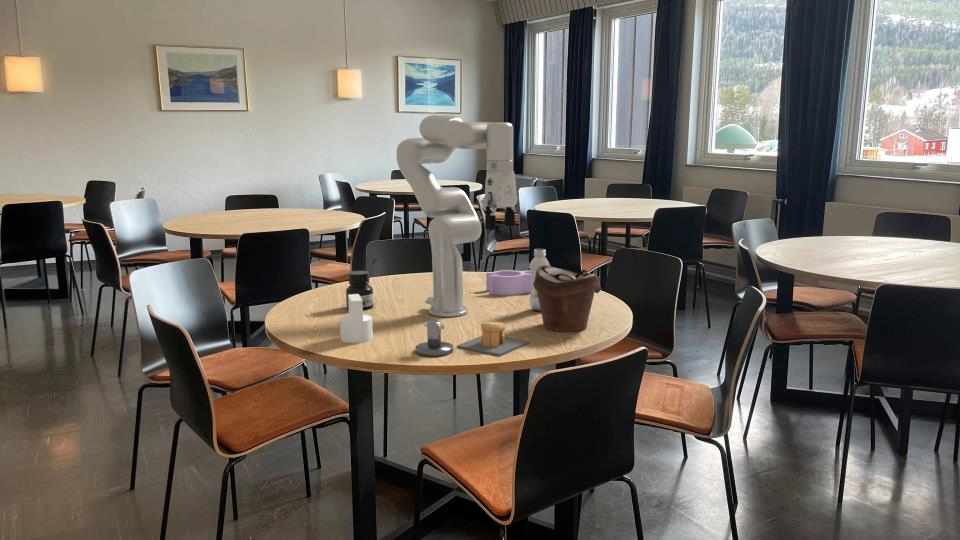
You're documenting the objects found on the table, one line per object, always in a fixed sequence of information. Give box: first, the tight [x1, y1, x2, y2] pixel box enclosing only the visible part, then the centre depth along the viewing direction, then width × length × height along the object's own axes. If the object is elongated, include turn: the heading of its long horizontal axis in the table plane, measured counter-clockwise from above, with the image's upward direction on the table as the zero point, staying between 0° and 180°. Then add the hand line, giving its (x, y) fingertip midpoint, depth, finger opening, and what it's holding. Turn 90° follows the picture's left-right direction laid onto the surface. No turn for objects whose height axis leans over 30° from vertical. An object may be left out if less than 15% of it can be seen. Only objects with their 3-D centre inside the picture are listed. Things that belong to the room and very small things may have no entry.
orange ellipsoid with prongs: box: [480, 321, 506, 347], centre depth 192 cm, size 6×6×6 cm
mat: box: [456, 335, 530, 357], centre depth 192 cm, size 14×14×1 cm
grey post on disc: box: [415, 319, 454, 358], centre depth 187 cm, size 10×10×8 cm
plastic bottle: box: [529, 248, 551, 312], centre depth 229 cm, size 6×7×20 cm
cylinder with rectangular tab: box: [339, 294, 374, 344], centre depth 199 cm, size 9×9×12 cm
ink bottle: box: [345, 270, 374, 311], centre depth 236 cm, size 10×9×12 cm
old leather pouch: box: [533, 265, 602, 333], centre depth 209 cm, size 18×20×18 cm
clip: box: [485, 269, 532, 296], centre depth 259 cm, size 20×12×7 cm, turn 99°
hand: (500, 227), depth 202 cm, fingers open, 9 cm apart
